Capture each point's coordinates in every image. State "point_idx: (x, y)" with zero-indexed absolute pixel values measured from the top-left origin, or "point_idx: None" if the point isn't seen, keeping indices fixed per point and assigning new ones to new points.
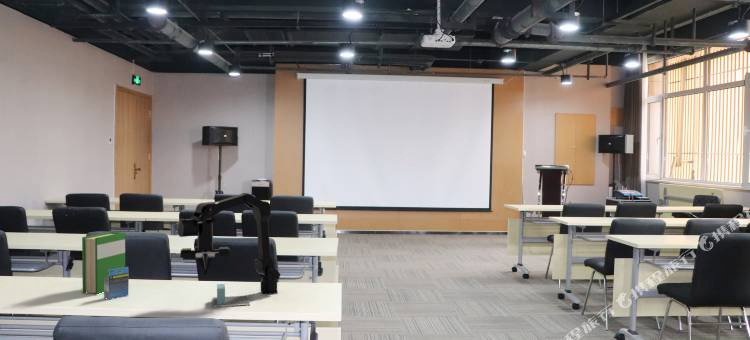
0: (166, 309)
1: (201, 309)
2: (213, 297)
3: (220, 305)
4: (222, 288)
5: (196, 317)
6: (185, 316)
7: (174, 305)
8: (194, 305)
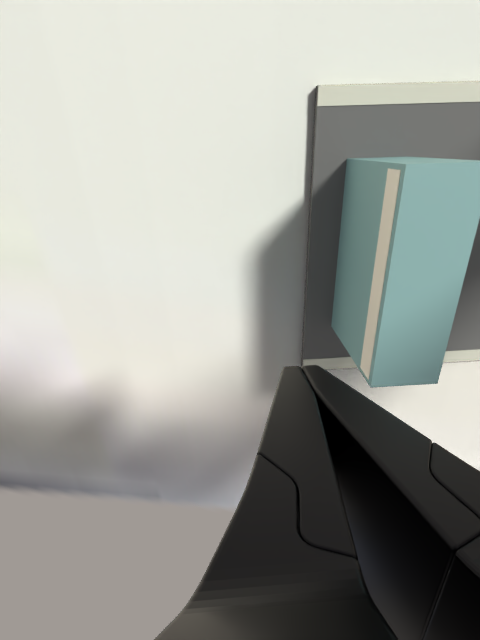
0: (15, 362)
1: (234, 391)
2: (321, 102)
3: (348, 354)
4: (419, 367)
5: (219, 506)
6: (164, 489)
7: (34, 274)
8: (181, 298)
